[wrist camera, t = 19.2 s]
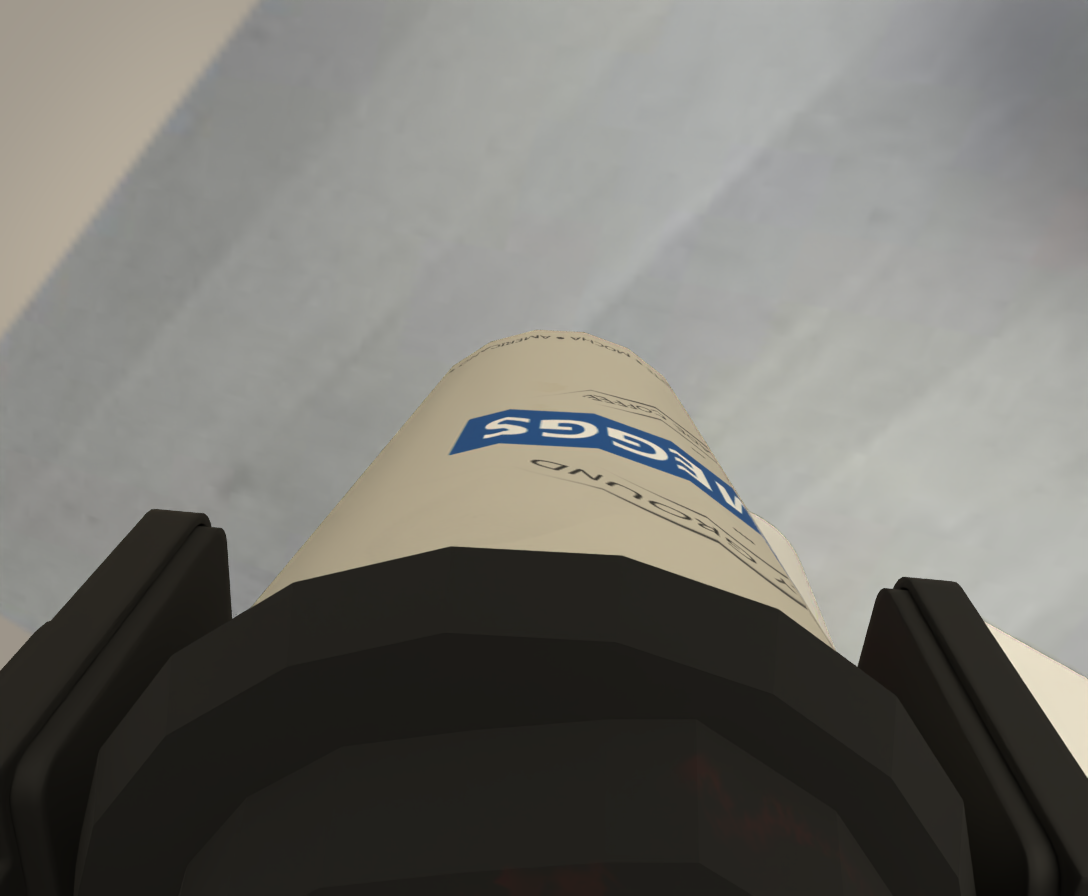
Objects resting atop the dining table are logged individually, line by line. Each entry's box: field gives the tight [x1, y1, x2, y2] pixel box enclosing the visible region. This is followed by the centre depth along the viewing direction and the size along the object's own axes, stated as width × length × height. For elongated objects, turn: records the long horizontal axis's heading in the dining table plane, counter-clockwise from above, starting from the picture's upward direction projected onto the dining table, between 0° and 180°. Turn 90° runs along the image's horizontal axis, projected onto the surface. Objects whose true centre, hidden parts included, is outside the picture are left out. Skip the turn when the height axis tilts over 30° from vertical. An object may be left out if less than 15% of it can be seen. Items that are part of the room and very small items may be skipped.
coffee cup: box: [73, 330, 976, 896], centre depth 11 cm, size 7×7×10 cm
